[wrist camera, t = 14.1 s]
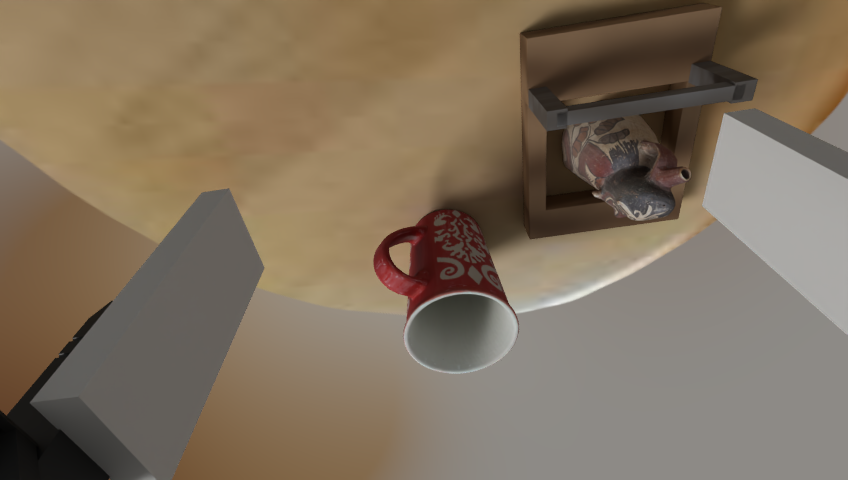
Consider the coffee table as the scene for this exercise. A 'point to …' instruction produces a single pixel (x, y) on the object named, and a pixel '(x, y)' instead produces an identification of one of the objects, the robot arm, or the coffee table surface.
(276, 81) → the coffee table surface
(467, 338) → the mug
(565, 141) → the figurine
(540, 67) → the wooden stand
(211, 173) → the coffee table surface
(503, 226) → the coffee table surface
